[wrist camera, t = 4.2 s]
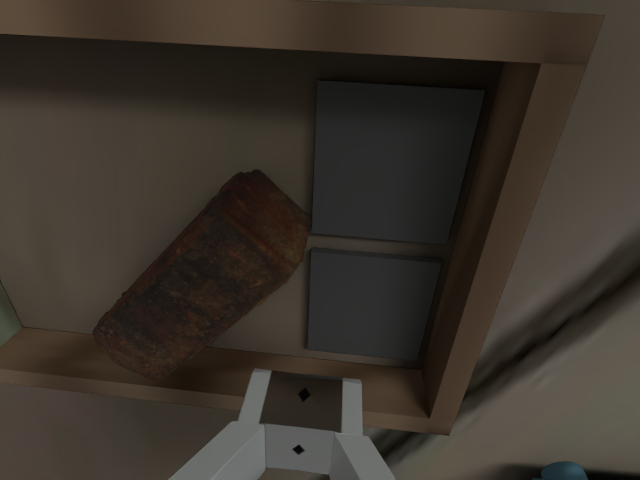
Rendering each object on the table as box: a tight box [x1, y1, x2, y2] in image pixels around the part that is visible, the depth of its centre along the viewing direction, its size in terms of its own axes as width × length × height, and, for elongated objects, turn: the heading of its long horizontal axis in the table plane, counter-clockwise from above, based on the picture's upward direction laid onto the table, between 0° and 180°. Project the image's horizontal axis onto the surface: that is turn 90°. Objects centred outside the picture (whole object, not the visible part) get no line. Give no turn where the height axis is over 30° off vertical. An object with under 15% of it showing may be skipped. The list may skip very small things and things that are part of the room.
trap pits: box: [307, 79, 485, 361], centre depth 17 cm, size 6×14×1 cm, turn 178°
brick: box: [93, 169, 312, 380], centre depth 17 cm, size 11×4×5 cm, turn 135°
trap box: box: [0, 0, 605, 436], centre depth 16 cm, size 26×18×3 cm
